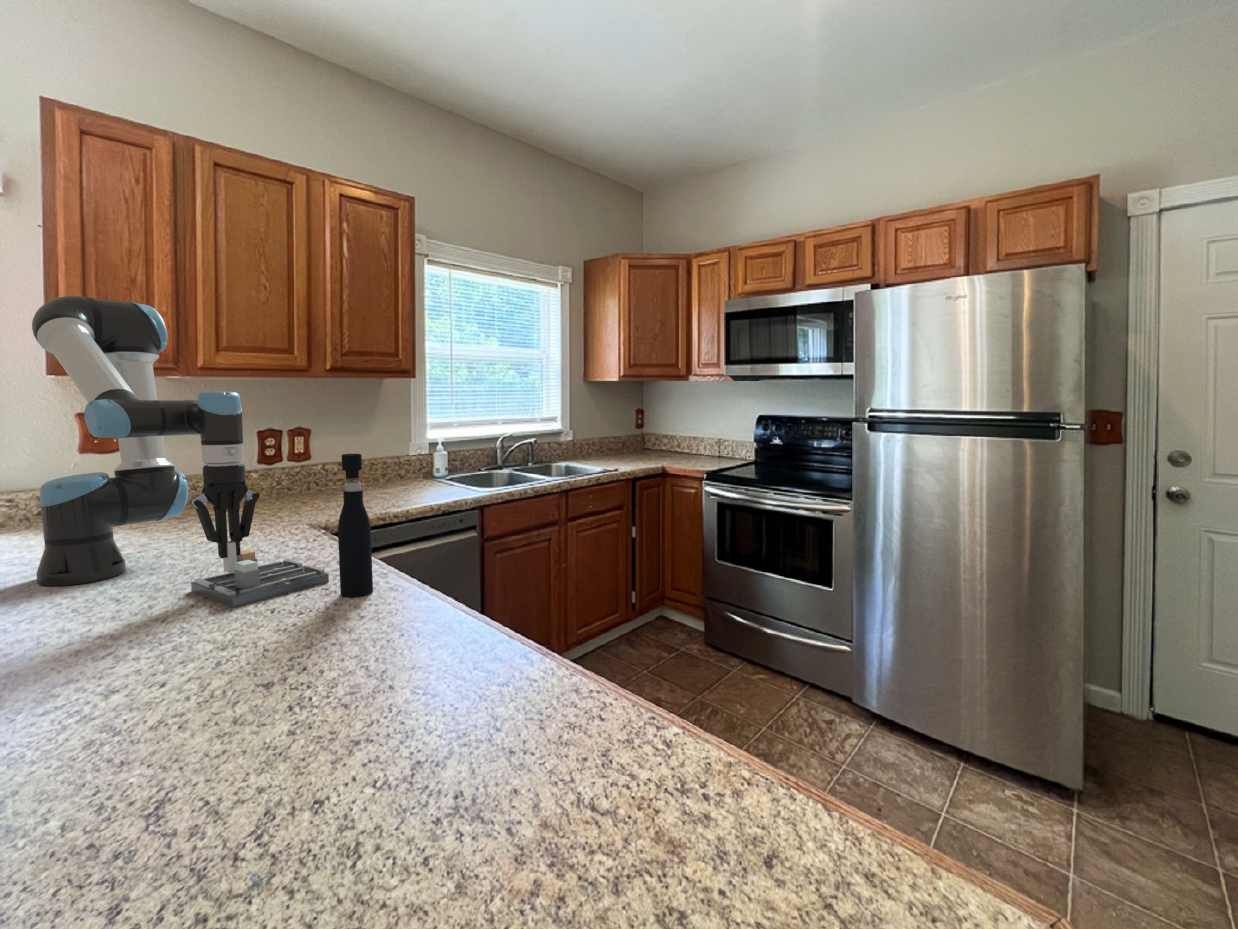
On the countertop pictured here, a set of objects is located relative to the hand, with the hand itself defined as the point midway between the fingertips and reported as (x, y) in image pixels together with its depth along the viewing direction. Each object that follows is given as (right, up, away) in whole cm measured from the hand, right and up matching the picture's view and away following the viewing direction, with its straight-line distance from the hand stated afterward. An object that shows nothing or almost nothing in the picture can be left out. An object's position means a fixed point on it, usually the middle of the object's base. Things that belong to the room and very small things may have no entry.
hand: (230, 571), depth 127 cm
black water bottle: (+28, -5, -2) cm, 29 cm away
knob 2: (+7, -2, -5) cm, 9 cm away
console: (+6, -4, +2) cm, 7 cm away
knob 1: (+2, -1, +3) cm, 3 cm away
